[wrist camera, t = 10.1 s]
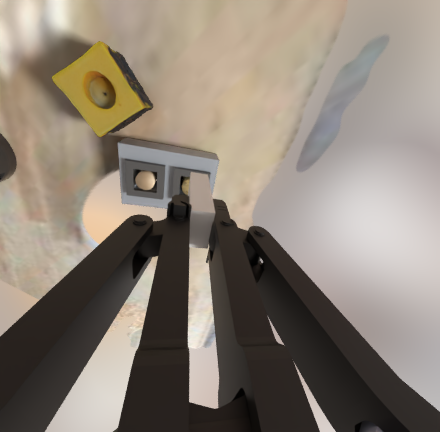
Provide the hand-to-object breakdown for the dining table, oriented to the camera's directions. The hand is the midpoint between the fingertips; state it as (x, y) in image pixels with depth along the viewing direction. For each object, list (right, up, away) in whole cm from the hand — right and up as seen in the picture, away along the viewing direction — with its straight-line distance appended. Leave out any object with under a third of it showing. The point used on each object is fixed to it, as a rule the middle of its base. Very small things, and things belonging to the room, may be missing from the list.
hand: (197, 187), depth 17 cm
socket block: (-11, +8, +32) cm, 34 cm away
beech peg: (-15, +9, +31) cm, 35 cm away
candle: (-19, +22, +22) cm, 37 cm away
